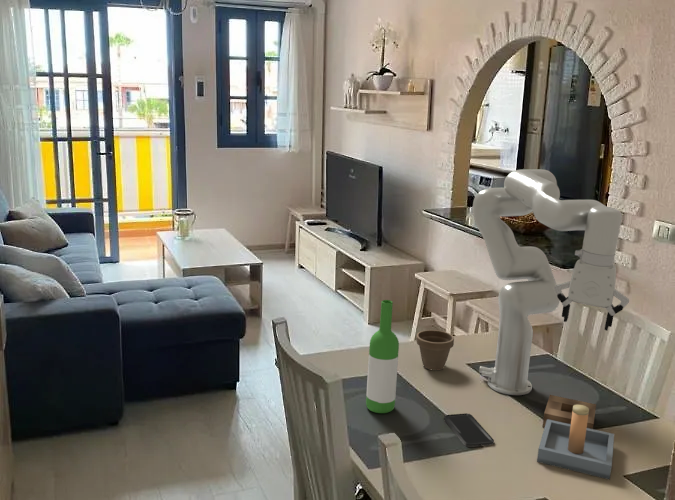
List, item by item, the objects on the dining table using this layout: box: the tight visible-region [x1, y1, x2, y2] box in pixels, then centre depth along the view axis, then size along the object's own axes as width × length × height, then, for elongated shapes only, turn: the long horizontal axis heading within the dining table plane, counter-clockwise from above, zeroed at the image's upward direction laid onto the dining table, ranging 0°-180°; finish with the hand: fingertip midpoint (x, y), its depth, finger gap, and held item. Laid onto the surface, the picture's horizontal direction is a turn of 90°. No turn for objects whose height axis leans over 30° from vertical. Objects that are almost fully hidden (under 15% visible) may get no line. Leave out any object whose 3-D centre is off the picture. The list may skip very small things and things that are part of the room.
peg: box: [568, 405, 589, 454], centre depth 164 cm, size 4×4×11 cm
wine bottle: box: [365, 299, 400, 414], centre depth 181 cm, size 8×8×30 cm
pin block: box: [542, 394, 597, 429], centre depth 181 cm, size 12×12×4 cm
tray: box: [536, 419, 615, 480], centre depth 165 cm, size 16×16×4 cm
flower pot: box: [416, 329, 455, 371], centre depth 212 cm, size 12×11×10 cm
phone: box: [443, 413, 495, 448], centre depth 174 cm, size 8×1×15 cm
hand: (585, 324), depth 170 cm, fingers open, 9 cm apart
